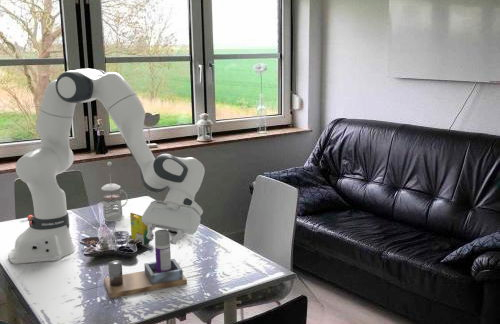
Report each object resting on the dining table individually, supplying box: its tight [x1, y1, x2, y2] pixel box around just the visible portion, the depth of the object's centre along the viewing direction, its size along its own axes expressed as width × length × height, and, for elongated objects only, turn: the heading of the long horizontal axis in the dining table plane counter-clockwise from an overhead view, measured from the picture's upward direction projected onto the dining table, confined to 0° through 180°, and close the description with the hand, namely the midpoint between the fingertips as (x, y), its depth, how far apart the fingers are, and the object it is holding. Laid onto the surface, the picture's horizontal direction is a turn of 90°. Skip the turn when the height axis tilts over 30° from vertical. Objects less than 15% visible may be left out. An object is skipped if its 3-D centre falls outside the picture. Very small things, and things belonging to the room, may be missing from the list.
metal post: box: [107, 259, 124, 287], centre depth 166 cm, size 4×4×7 cm
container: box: [154, 228, 172, 273], centre depth 171 cm, size 5×5×15 cm
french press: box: [101, 161, 128, 222], centre depth 231 cm, size 10×12×25 cm
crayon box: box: [129, 212, 150, 246], centre depth 204 cm, size 7×3×12 cm, turn 50°
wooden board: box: [103, 258, 188, 299], centre depth 170 cm, size 24×12×4 cm, turn 113°
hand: (160, 240), depth 169 cm, fingers open, 8 cm apart
